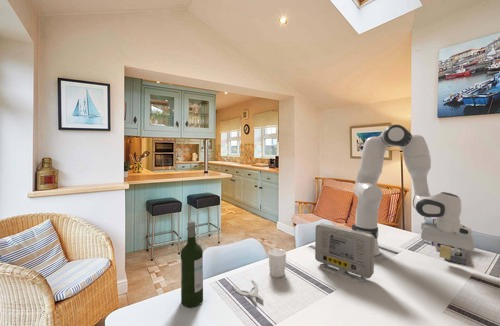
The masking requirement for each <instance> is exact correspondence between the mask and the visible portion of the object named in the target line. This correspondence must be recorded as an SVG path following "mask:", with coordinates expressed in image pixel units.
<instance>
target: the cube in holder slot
mask: <svg viewBox="0 0 500 326" xmlns="http://www.w3.org/2000/svg"><path fill="white" fill-rule="evenodd" d="M453 250H454V248H451V251H453ZM454 255H457V256H460V249H458V250H457V251H456V252H455V254H454Z"/></svg>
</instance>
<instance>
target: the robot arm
mask: <svg viewBox="0 0 500 326" xmlns="http://www.w3.org/2000/svg"><path fill="white" fill-rule="evenodd" d="M391 147H398V148H400V149H401V151H402V155H403V162H404V164H405V167H406V169H407V172H408V173H409V175H410V177H411V179H412V184H413V189H414V197H413V199H412V206H413V208H414V209H415V211H416V212H417V213H418V214H419V215H421V216H422V217H424V218H425V217H437V219H436V224H435V223H428V222H422V223H421V224H420V229H421V230H422V231H421V234H420V238H421V240H422V241H423V240H426V241H431V242H434V245H433V246H434V247H435V252H436V253H440V247H439V246H438V245H444V246H445V245H448V246H452V247H454V250H453V251H451V255H452V256H454V254H455V252H456V251H457V250H458V248H461V249H464V250H466V251H470V252H472V251H474V250H475V247H476V246H475V239H474V236H473V230H472V228H470V227H469V226H466V225H464V224H461V220H460V217H461V212H462V200H461V198H460V196H458V195H457V194H453V193H450V192H444V191H442V192H440V193H437V194H434V195H431V193H430V189H429V183H428V173H429V172H430V169H431V167H432V166H431V165H432V161H431V154H430V153H431V152H430V149H429V146H428V143H427V142H426V139H425V138H424V136H423V135H420V134H412V133H411V132H410V131H409V130H408V129H407V128H406V127H405V126H403V125H400V124H391V125H389V126H387V127H385V128H384V129H383V131H382V132H381V134H380V135H378V136H370V137H368V138H367V139H366V140H365V142H364V144H363V148H362V152H361V157H360V162H359V169H358V173H357V176H356V179H355V183H354V186H353V192H354V195H355V196H356V197H357V206H356V210H355V220H354V221H355V222H352V224H351V226H350V227H351V228H350V229H351V230H355V231H359V232H364V233H368V234H372V235H373V236H374V238H375V243H374V257H375V256H379V255H380V253H381V251H380V248H379V241H378V240H379V239H378V238H379V226H378V216H379V215H378V214H379V209H380V205H381V201H382V199H383V196H384V195H383V191H382V189H381V187H380V186H379V185H377V183H378V181H379V180H378V179H379V178H380V176H381V174H382V171H383V166H384V161H385V159H384V158H385V153H386V151H387V149H388V148H391ZM424 223H425V224H424ZM438 243H439V244H438Z"/></svg>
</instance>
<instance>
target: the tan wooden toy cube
mask: <svg viewBox="0 0 500 326" xmlns="http://www.w3.org/2000/svg"><path fill="white" fill-rule="evenodd" d="M439 248H440V252H439V255H438V257H439V258H443V259H444V258H446V259H450V255H451V247H449V246H445V245H444V244H440V246H439Z"/></svg>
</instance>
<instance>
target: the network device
mask: <svg viewBox="0 0 500 326" xmlns="http://www.w3.org/2000/svg"><path fill="white" fill-rule="evenodd" d="M314 239H315V240H314V241H315V243H314V245H315V246H314V247H315V248H314V249H315V251H314V253H315V254H314V255H315V256H314V257H315V261H317V262H319V263H322V264H321V265H320V269H322V270H323V271H326V272H327V273H331V274H334V275H336V276H338V277H342V278H344V279H347V280H350V281H353V282H357V283H360V281H361V282H363V281H364V280H365V279H370V278H372V276H373V275H374V272H375V271H374V270H375V256H374V243H375V238H374V236H373V235H372V234H368V233H364V232H359V231H355V230H352V229H351V228H350V229H349V228H345V227H341V226H337V225H332V224H327V223H324V222H322V223H321V222H320V223H318V224H316V225H315V238H314ZM326 266H331V267H334V268H336V269H337V270H336V271H334V270H331V269H329V268H326ZM346 273H351V274H354V275H357V276H358V277H359V276H360V277H359V278H353V277H351V276H349V275H345V274H346ZM362 280H363V281H362Z"/></svg>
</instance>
